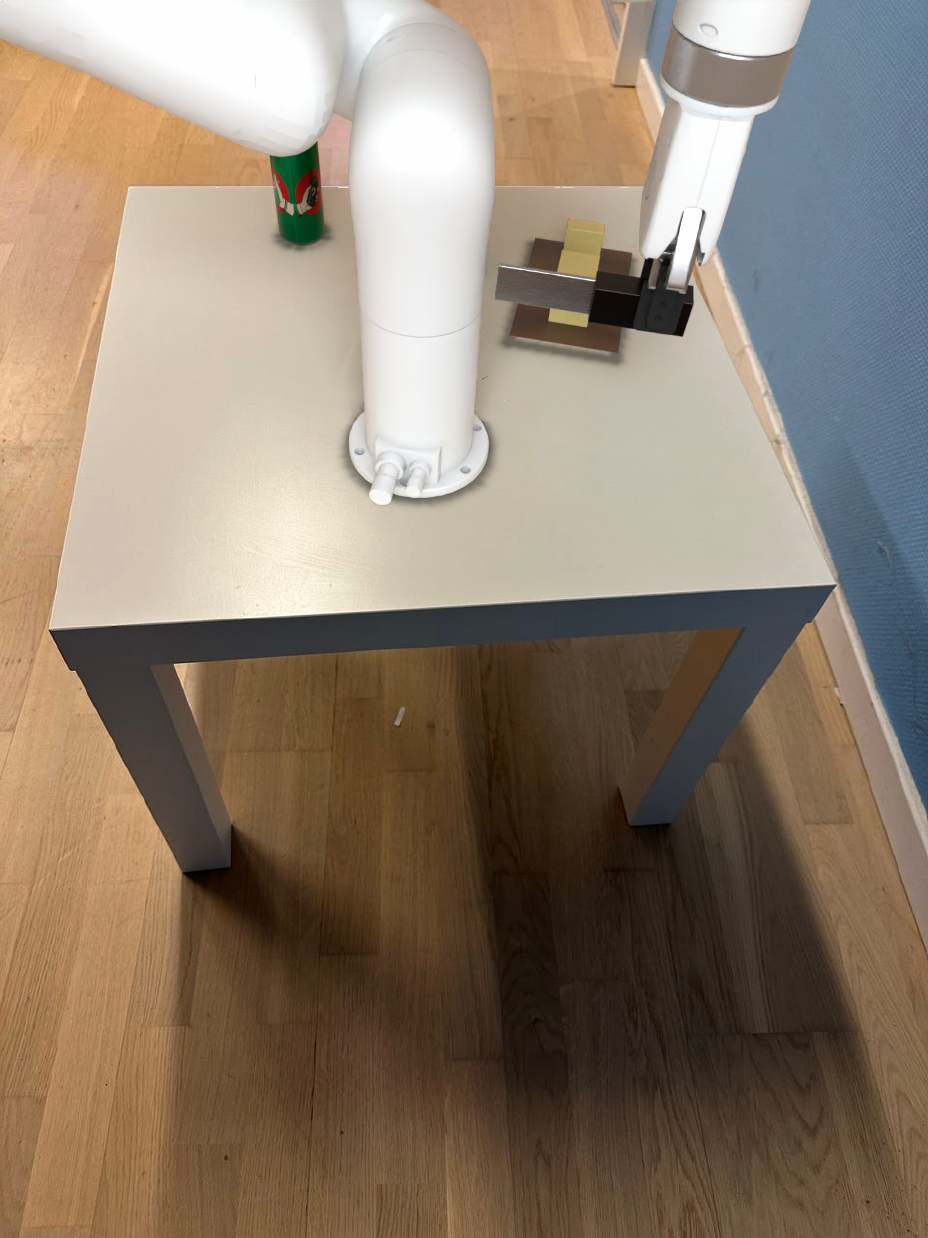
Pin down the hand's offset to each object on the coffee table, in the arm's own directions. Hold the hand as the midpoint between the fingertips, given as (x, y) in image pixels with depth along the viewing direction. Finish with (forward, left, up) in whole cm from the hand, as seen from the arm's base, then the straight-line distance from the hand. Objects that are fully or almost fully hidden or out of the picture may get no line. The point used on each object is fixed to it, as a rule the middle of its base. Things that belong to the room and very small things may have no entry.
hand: (654, 316), depth 70 cm
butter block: (+21, +7, -14) cm, 26 cm away
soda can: (+27, +38, -15) cm, 49 cm away
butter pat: (+29, +7, -14) cm, 33 cm away
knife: (0, +5, 0) cm, 5 cm away
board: (+23, +7, -15) cm, 28 cm away
